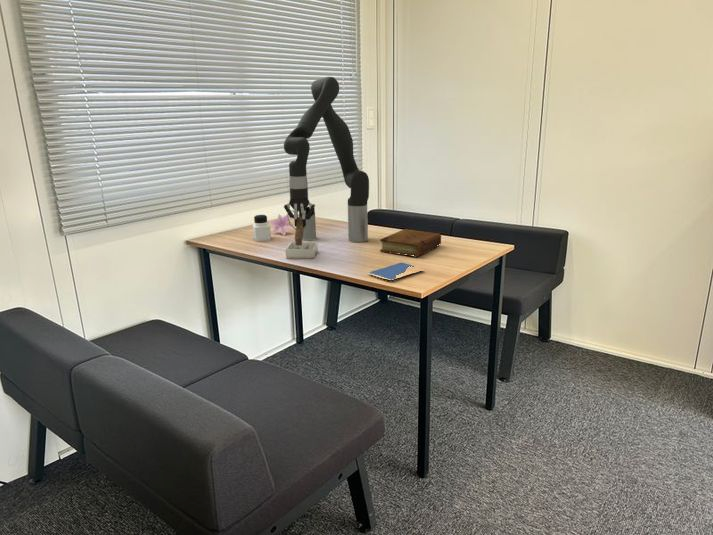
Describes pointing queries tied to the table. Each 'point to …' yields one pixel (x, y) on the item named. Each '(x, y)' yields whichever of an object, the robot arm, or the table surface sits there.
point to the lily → (281, 224)
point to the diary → (410, 242)
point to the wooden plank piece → (299, 231)
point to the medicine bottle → (261, 228)
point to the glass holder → (308, 226)
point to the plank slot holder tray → (301, 250)
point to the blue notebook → (391, 270)
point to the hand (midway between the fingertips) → (300, 227)
